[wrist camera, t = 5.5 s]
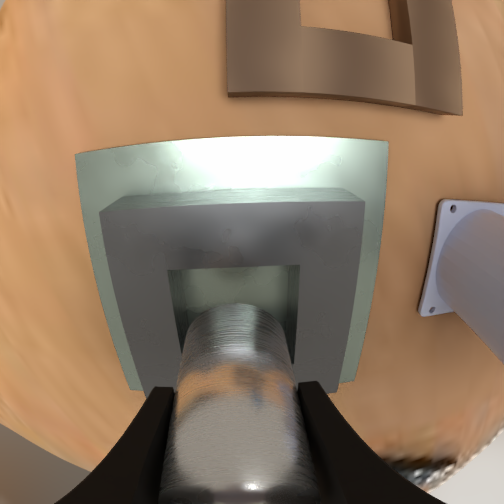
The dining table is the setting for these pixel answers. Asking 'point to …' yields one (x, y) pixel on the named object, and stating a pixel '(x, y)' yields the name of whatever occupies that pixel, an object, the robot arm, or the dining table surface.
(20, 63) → the dining table surface
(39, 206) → the dining table surface
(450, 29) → the walnut stand
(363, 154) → the metal hub block
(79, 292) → the dining table surface
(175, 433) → the steel peg
